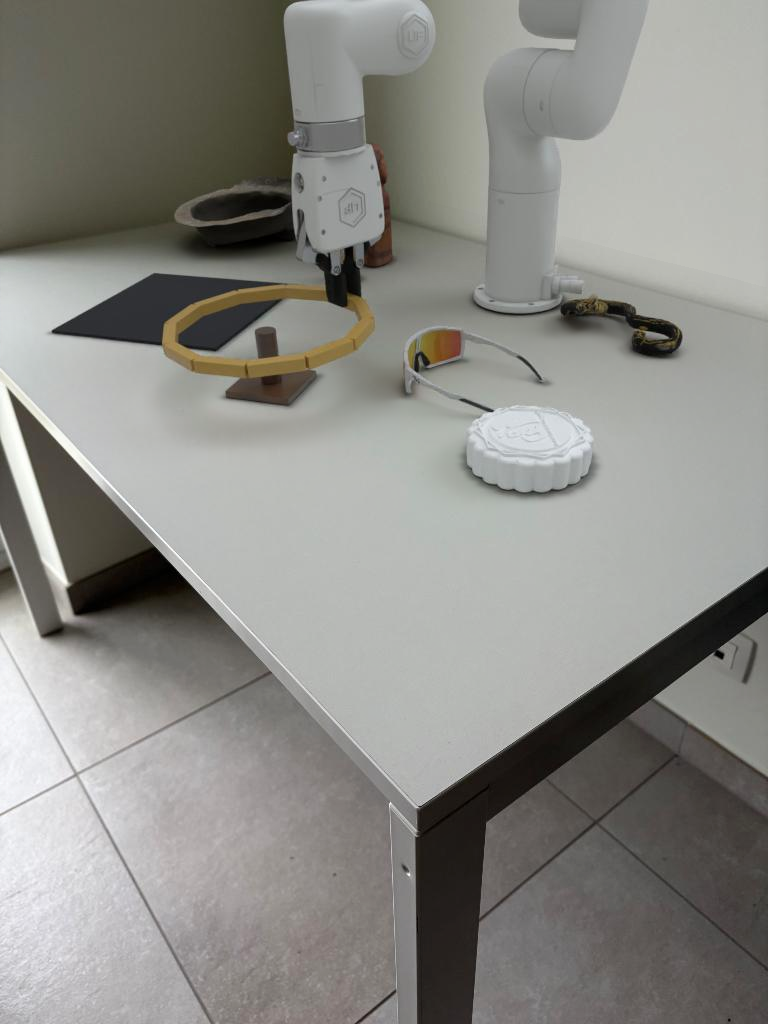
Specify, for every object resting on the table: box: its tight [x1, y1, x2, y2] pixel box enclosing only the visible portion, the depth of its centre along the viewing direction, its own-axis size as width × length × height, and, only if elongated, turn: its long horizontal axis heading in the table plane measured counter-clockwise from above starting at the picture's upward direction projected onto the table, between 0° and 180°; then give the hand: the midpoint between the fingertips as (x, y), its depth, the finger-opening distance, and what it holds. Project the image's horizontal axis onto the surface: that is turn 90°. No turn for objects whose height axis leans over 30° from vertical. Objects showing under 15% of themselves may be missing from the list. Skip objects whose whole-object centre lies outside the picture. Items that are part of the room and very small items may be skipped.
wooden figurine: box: [364, 141, 393, 268], centre depth 130 cm, size 12×6×18 cm, turn 24°
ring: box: [161, 283, 376, 379], centre depth 90 cm, size 23×23×1 cm
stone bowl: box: [173, 176, 296, 248], centre depth 145 cm, size 25×25×9 cm
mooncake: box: [465, 404, 595, 493], centre depth 77 cm, size 12×12×4 cm
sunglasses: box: [402, 325, 546, 413], centre depth 92 cm, size 14×15×5 cm
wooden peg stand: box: [225, 326, 317, 406], centre depth 92 cm, size 8×8×7 cm
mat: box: [51, 272, 299, 352], centre depth 118 cm, size 26×26×1 cm
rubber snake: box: [559, 293, 684, 356], centre depth 103 cm, size 18×5×10 cm
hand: (344, 301), depth 96 cm, fingers closed on ring, 1 cm apart
